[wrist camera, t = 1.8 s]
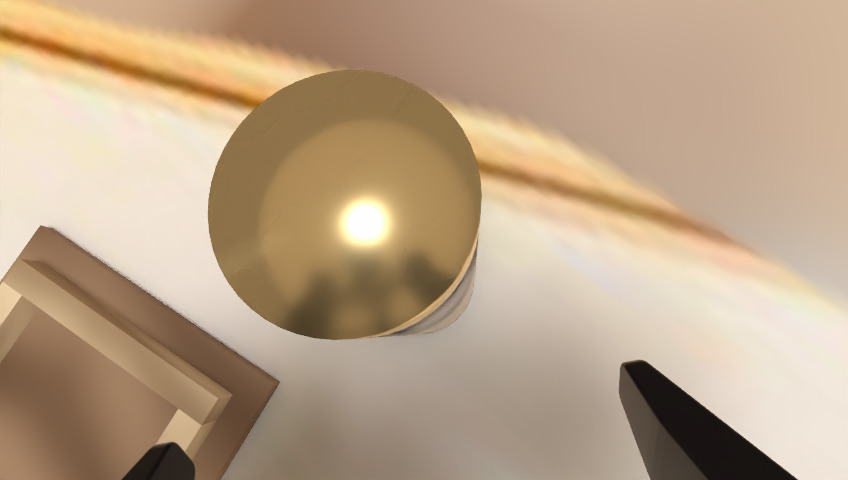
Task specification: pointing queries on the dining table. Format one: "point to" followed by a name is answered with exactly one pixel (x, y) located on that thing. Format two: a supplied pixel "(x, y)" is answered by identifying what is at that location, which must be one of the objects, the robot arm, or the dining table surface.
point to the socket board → (110, 373)
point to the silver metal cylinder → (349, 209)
